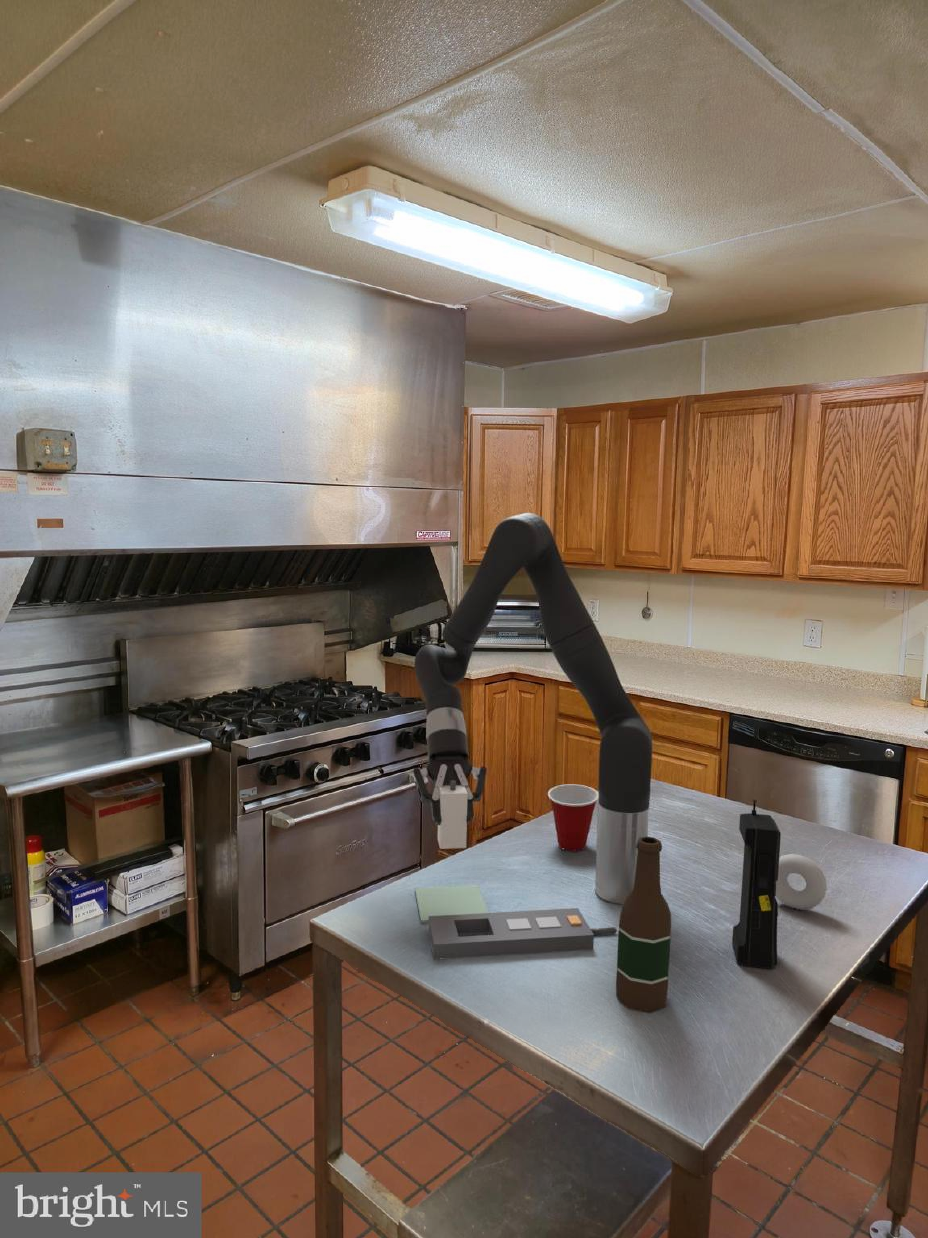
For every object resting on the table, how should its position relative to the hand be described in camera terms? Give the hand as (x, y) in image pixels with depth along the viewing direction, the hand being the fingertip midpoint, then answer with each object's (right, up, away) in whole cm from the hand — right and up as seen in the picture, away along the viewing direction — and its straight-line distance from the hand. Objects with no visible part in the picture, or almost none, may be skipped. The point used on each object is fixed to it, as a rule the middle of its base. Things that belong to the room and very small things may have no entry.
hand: (453, 822), depth 138 cm
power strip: (+12, -17, -7) cm, 22 cm away
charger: (0, -4, +2) cm, 5 cm away
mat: (-1, -16, +4) cm, 16 cm away
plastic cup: (+25, -13, +31) cm, 42 cm away
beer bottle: (+28, -20, -23) cm, 41 cm away
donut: (+62, -17, +5) cm, 64 cm away
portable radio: (+48, -19, -12) cm, 53 cm away
